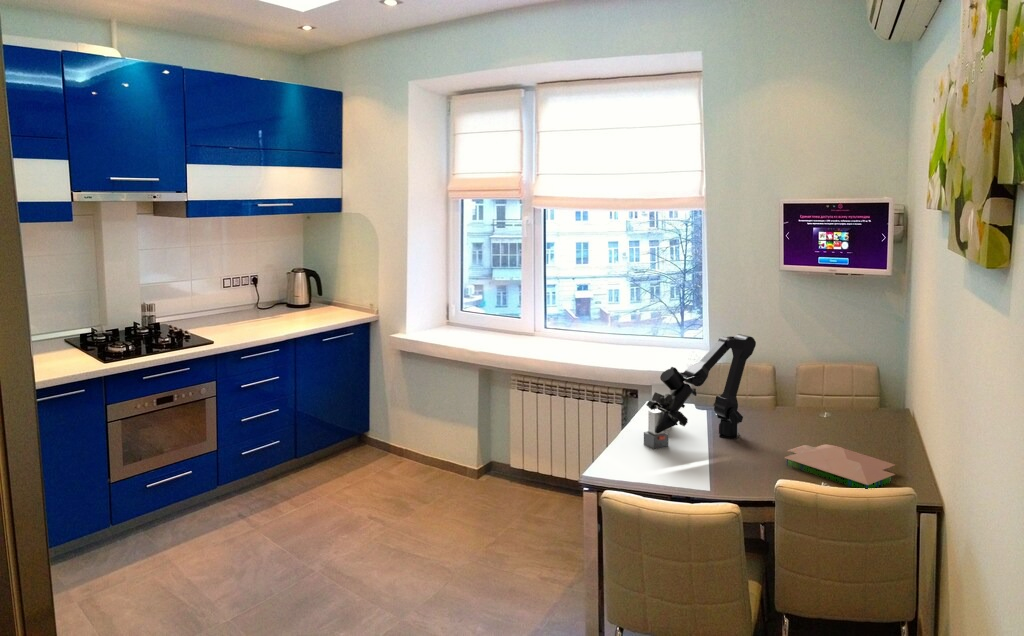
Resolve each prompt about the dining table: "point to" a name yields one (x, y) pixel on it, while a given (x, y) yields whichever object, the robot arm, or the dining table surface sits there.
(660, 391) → the milk carton
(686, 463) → the dining table surface
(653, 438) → the stand
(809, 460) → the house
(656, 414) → the post
